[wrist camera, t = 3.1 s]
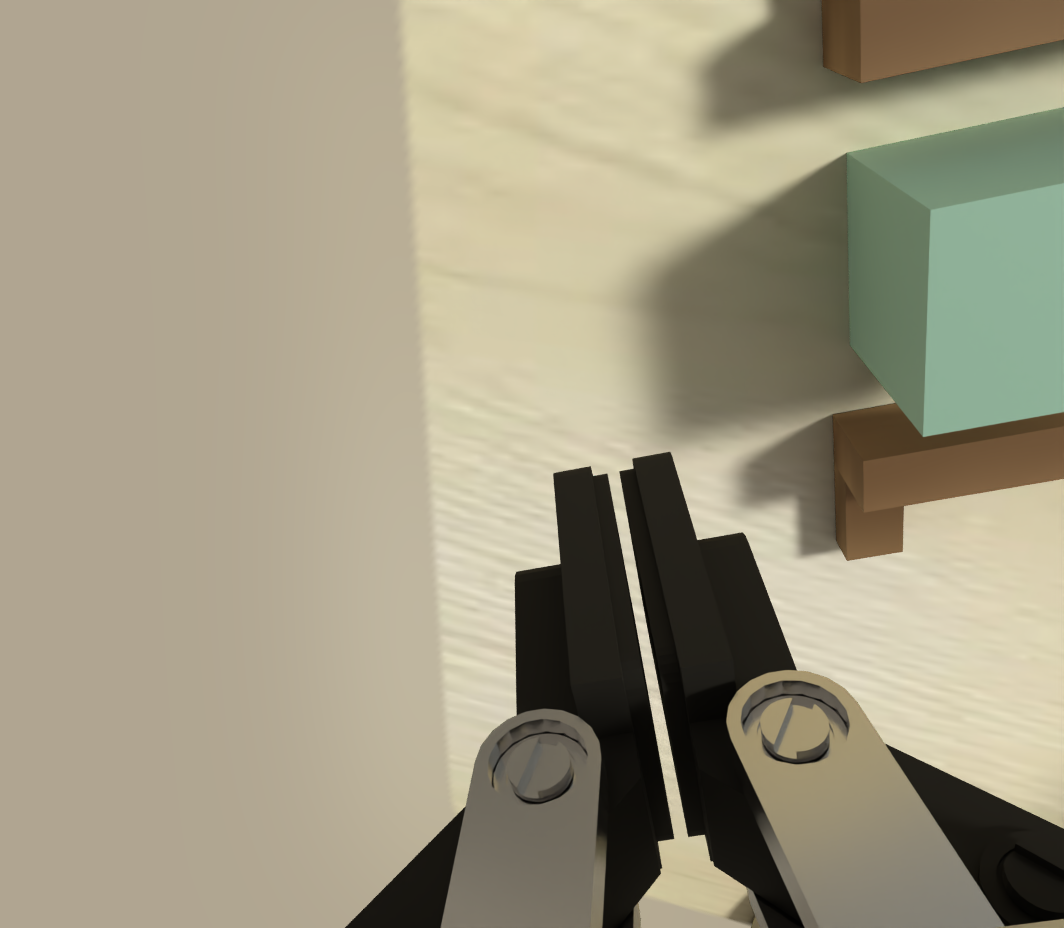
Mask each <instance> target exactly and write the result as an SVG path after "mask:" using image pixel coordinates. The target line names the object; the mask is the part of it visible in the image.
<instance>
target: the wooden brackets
mask: <svg viewBox="0 0 1064 928" xmlns="http://www.w3.org/2000/svg"><path fill="white" fill-rule="evenodd" d="M822 31H823V67H825V68H827V69H830V70H832V71H834V72H837V73H839V74H841V75H843V76H846V77H848V78H850V79H853V80H855V81H857V82H860V83H864V82H868V81H873V80H878V79H882V78H887V77H892V76H896V75H901V74H906V73H910V72H915V71H920V70H924V69H929V68H934V67H938V66H943V65H948V64H952V63H957V62H962V61H966V60H971V59H975V58H980V57H985V56H989V55H994V54H999V53H1003V52H1008V51H1013V50H1017V49H1022V48H1027V47H1031V46H1036V45H1041V44H1045V43H1050V42H1055V41H1059V40H1064V0H822ZM833 438H834V475H835V511H836V541H837V543H838V545H839V547H840V549H841V550H842V552H843V554H844V556H845V558H846V560H847V561H849V560H855V559H861V558H867V557H873V556H879V555H885V554H891V553H897V552H903V515H904V506H906V505H912V504H918V503H924V502H930V501H936V500H941V499H947V498H953V497H959V496H965V495H971V494H977V493H983V492H989V491H995V490H1000V489H1006V488H1012V487H1018V486H1024V485H1030V484H1036V483H1042V482H1048V481H1053V480H1059V479H1064V412H1061V413H1055V414H1050V415H1044V416H1039V417H1033V418H1027V419H1022V420H1016V421H1010V422H1005V423H999V424H993V425H988V426H982V427H977V428H971V429H965V430H960V431H954V432H948V433H943V434H937V435H931V436H926V437H923V436H922V435H921V434H920V433H919V431H918V430H917V429H916V427H915V426H914V425H913V424H912V422H911V421H910V420H909V419H908V417H907V416H906V415H905V414H904V412H903V411H902V410H901V409H900V407H899V406H898V405H897V404H896V403H895V404H889V405H884V406H878V407H873V408H867V409H862V410H856V411H850V412H845V413H839V414H834V415H833Z"/></svg>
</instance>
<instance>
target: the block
mask: <svg viewBox="0 0 1064 928" xmlns="http://www.w3.org/2000/svg"><path fill="white" fill-rule="evenodd" d="M847 208H848V267H849V325H850V346H851V347H852V348H853V350H854V351H855V352H856V354H857V355H858V356H859V357H860V359H861V360H862V361H863V362H864V364H865V365H866V366H867V367H868V369H869V370H870V371H871V372H872V374H873V375H874V376H875V377H876V379H877V380H878V381H879V382H880V384H881V385H882V386H883V387H884V389H885V390H886V391H887V392H888V394H889V395H890V396H891V397H892V399H893V400H894V401H895V402H896V404H897V405H898V406H899V407H900V409H901V410H902V411H903V412H904V414H905V415H906V416H907V417H908V419H909V420H910V421H911V422H912V424H913V425H914V426H915V427H916V429H917V430H918V431H919V433H920V434H921V435H922V436H923V437H926V436H931V435H937V434H943V433H948V432H954V431H960V430H965V429H971V428H977V427H982V426H988V425H993V424H999V423H1005V422H1010V421H1016V420H1022V419H1027V418H1033V417H1039V416H1044V415H1050V414H1055V413H1061V412H1064V107H1063V108H1058V109H1053V110H1049V111H1044V112H1039V113H1034V114H1030V115H1025V116H1020V117H1015V118H1011V119H1006V120H1001V121H996V122H991V123H987V124H982V125H977V126H972V127H968V128H963V129H958V130H953V131H949V132H944V133H939V134H934V135H930V136H925V137H920V138H915V139H910V140H906V141H901V142H896V143H891V144H887V145H882V146H877V147H872V148H868V149H863V150H858V151H853V152H849V153H847Z"/></svg>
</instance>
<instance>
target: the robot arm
mask: <svg viewBox="0 0 1064 928" xmlns="http://www.w3.org/2000/svg"><path fill="white" fill-rule="evenodd" d="M633 467H634V469H630V470H624V471H619V472H620V478H621V483H622V489H623V495H624V500H625V506H626V511H627V517H628V523H629V528H630V534H631V539H632V545H633V551H634V556H635V562H636V567H637V573H638V579H639V584H640V590H641V595H642V601H643V607H644V612H645V618H646V623H647V628H648V633H649V639H650V644H651V649H652V654H653V659H654V664H655V669H656V674H657V680H658V685H659V690H660V695H661V700H662V705H663V710H664V715H665V720H666V726H667V731H668V736H669V741H670V746H671V751H672V756H673V761H674V766H675V772H676V777H677V782H678V787H679V792H680V797H681V802H682V807H683V812H684V818H685V823H686V828H687V833H688V837H691V836H698V835H705V837H706V842H707V846H708V851H709V856H710V860H711V861H713V862H714V866H715V867H717V868H718V869H720V870H721V871H723V872H724V873H726V874H727V875H729V876H730V877H732V878H733V879H735V880H737V881H738V882H740V883H741V884H743V885H744V886H746V888H747V892H748V896H749V901H750V904H751V907H752V909H753V912H754V914H755V919H754V921H753V923H752V926H751V928H1064V829H1063V828H1061V827H1059V826H1057V825H1055V824H1053V823H1050V822H1048V821H1046V820H1044V819H1042V818H1040V817H1038V816H1036V815H1034V814H1032V813H1029V812H1027V811H1025V810H1023V809H1021V808H1019V807H1017V806H1015V805H1013V804H1011V803H1008V802H1006V801H1004V800H1002V799H1000V798H998V797H996V796H994V795H992V794H990V793H987V792H985V791H983V790H981V789H979V788H977V787H975V786H973V785H971V784H969V783H966V782H964V781H962V780H960V779H958V778H956V777H954V776H952V775H950V774H948V773H945V772H943V771H941V770H939V769H937V768H935V767H933V766H931V765H929V764H927V763H925V762H922V761H920V760H918V759H916V758H914V757H912V756H910V755H908V754H906V753H904V752H901V751H899V750H897V749H895V748H893V747H891V746H889V745H887V744H885V743H884V742H883V740H882V739H881V737H880V736H879V734H878V733H877V731H876V730H875V728H874V727H873V725H872V724H871V722H870V721H869V719H868V718H867V716H866V715H865V713H864V711H863V710H862V708H861V707H860V705H859V704H858V702H857V701H856V700H855V699H854V698H853V697H852V696H851V695H850V694H849V692H848V691H847V690H846V689H845V688H843V687H842V686H840V685H839V684H837V683H835V682H834V681H832V680H830V679H829V678H827V677H824V676H820V675H817V674H814V673H811V672H808V671H797V669H796V667H795V664H794V661H793V659H792V656H791V654H790V651H789V648H788V646H787V643H786V640H785V638H784V635H783V632H782V630H781V627H780V625H779V622H778V619H777V617H776V614H775V611H774V609H773V606H772V603H771V601H770V598H769V596H768V593H767V590H766V588H765V585H764V582H763V580H762V577H761V574H760V572H759V569H758V567H757V564H756V561H755V559H754V556H753V553H752V551H751V548H750V545H749V543H748V541H747V538H746V536H745V535H744V534H743V532H742V533H737V534H731V535H725V536H719V537H714V538H708V539H702V540H697V538H696V534H695V531H694V528H693V524H692V521H691V518H690V514H689V511H688V508H687V504H686V501H685V498H684V494H683V491H682V488H681V485H680V481H679V478H678V475H677V471H676V468H675V465H674V461H673V458H672V455H671V452H666V453H661V454H655V455H650V456H644V457H639V458H633ZM553 476H554V489H555V501H556V513H557V525H558V537H559V549H560V561H561V564H559V565H553V566H547V567H541V568H536V569H530V570H524V571H519V572H516V574H515V630H516V703H517V716H514V717H512V718H510V719H508V720H506V721H505V722H504V723H502V724H501V725H500V726H498V727H497V728H496V729H494V730H493V731H492V732H491V734H490V735H489V736H488V737H487V739H486V740H485V741H484V742H483V744H482V745H481V747H480V750H479V753H478V755H477V758H476V760H475V764H474V769H473V774H472V779H471V783H470V788H469V793H468V798H467V803H466V806H465V807H464V808H463V809H462V810H461V811H460V812H459V814H458V815H457V816H456V817H455V818H454V819H453V820H452V821H451V822H450V823H449V824H448V825H447V826H446V827H445V828H444V829H443V830H442V831H441V832H440V833H439V834H438V835H437V836H436V837H435V838H434V839H433V840H432V841H431V842H430V843H429V844H428V845H427V846H426V847H425V848H424V849H423V850H422V851H421V852H420V853H419V854H418V855H417V856H416V857H415V858H414V859H413V860H412V861H411V862H410V863H409V864H408V865H407V866H406V867H405V868H404V869H403V870H402V871H401V872H400V873H399V874H398V875H397V876H396V877H395V878H394V879H393V880H392V881H391V882H390V883H389V884H388V885H387V886H386V887H385V888H384V889H383V890H382V891H381V892H380V893H379V894H378V895H377V896H376V897H375V898H374V899H373V900H372V901H371V902H370V903H369V904H368V905H367V907H365V908H364V909H363V910H362V911H361V912H360V913H359V914H358V915H357V916H356V917H355V918H354V919H353V920H352V921H351V922H350V923H349V924H348V926H346V927H345V928H640V925H641V918H640V911H639V904H638V902H639V901H640V899H641V898H642V897H643V896H644V894H645V893H646V892H647V890H648V889H649V888H650V887H651V885H652V884H653V883H654V882H655V880H656V879H657V878H658V876H659V875H660V874H661V871H660V869H661V868H662V865H661V859H660V853H659V846H658V841H664V840H670V839H674V834H673V829H672V823H671V818H670V812H669V807H668V801H667V795H666V790H665V784H664V779H663V773H662V768H661V762H660V757H659V751H658V745H657V740H656V734H655V729H654V723H653V718H652V712H651V707H650V701H649V696H648V690H647V684H646V679H645V673H644V668H643V662H642V657H641V651H640V646H639V640H638V635H637V629H636V624H635V618H634V613H633V608H632V602H631V597H630V592H629V586H628V581H627V576H626V570H625V565H624V560H623V554H622V549H621V544H620V538H619V533H618V528H617V522H616V517H615V512H614V506H613V501H612V496H611V491H610V485H609V480H608V475H607V474H602V475H597V476H593V474H592V470H591V466H590V467H584V468H579V469H574V470H568V471H563V472H557V473H554V474H553Z"/></svg>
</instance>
